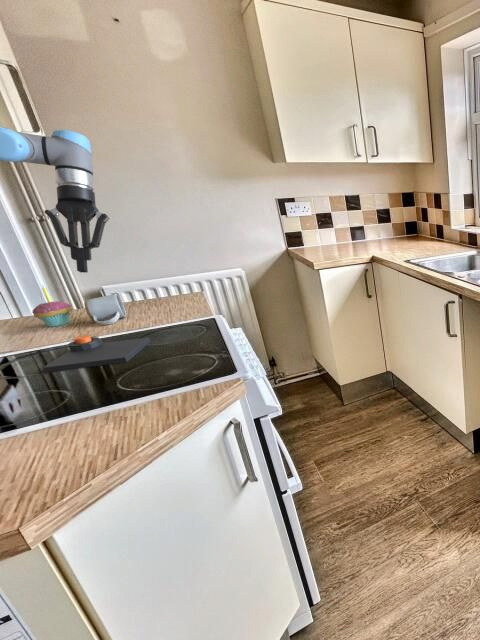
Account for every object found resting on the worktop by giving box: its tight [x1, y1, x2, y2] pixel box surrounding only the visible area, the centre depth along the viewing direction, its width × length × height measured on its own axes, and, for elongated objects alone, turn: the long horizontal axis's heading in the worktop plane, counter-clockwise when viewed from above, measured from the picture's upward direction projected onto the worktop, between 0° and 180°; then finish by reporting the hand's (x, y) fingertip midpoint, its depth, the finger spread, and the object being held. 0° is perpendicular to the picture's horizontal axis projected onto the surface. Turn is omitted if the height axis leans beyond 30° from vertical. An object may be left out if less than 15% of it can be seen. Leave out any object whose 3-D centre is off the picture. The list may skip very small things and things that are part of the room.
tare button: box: [73, 334, 92, 344], centre depth 109 cm, size 3×3×2 cm
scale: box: [42, 336, 152, 374], centre depth 108 cm, size 16×15×3 cm
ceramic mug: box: [84, 293, 127, 326], centre depth 132 cm, size 11×8×8 cm
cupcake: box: [31, 285, 74, 328], centre depth 129 cm, size 9×8×12 cm
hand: (82, 271), depth 119 cm, fingers closed
